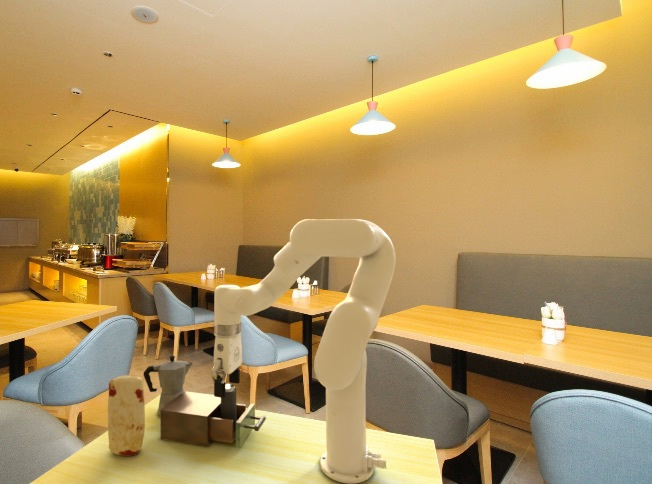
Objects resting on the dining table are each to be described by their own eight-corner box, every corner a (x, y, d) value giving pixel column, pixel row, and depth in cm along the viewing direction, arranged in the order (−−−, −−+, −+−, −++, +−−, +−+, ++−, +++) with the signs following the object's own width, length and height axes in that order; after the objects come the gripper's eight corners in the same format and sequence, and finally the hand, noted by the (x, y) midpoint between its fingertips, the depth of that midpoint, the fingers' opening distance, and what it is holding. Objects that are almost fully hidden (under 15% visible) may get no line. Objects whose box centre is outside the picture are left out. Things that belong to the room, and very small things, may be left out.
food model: (102, 459, 90) (101, 380, 90) (116, 444, 96) (116, 370, 97) (139, 460, 89) (138, 381, 89) (150, 445, 96) (150, 371, 96)
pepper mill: (239, 426, 101) (238, 384, 102) (232, 434, 97) (232, 390, 97) (225, 424, 103) (224, 382, 103) (218, 432, 98) (217, 388, 99)
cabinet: (227, 423, 107) (227, 396, 107) (207, 446, 95) (207, 416, 95) (184, 417, 111) (184, 391, 111) (160, 439, 99) (160, 409, 99)
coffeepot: (190, 401, 122) (190, 349, 122) (195, 413, 113) (195, 357, 114) (142, 410, 116) (142, 355, 116) (144, 424, 107) (144, 364, 107)
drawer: (269, 427, 102) (268, 405, 103) (255, 450, 92) (255, 425, 92) (213, 419, 107) (213, 398, 108) (194, 440, 97) (194, 416, 97)
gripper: (226, 338, 91) (226, 405, 91) (250, 323, 108) (250, 379, 107) (200, 336, 93) (200, 401, 93) (228, 321, 110) (228, 376, 110)
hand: (227, 389), depth 100 cm, fingers open, 9 cm apart
